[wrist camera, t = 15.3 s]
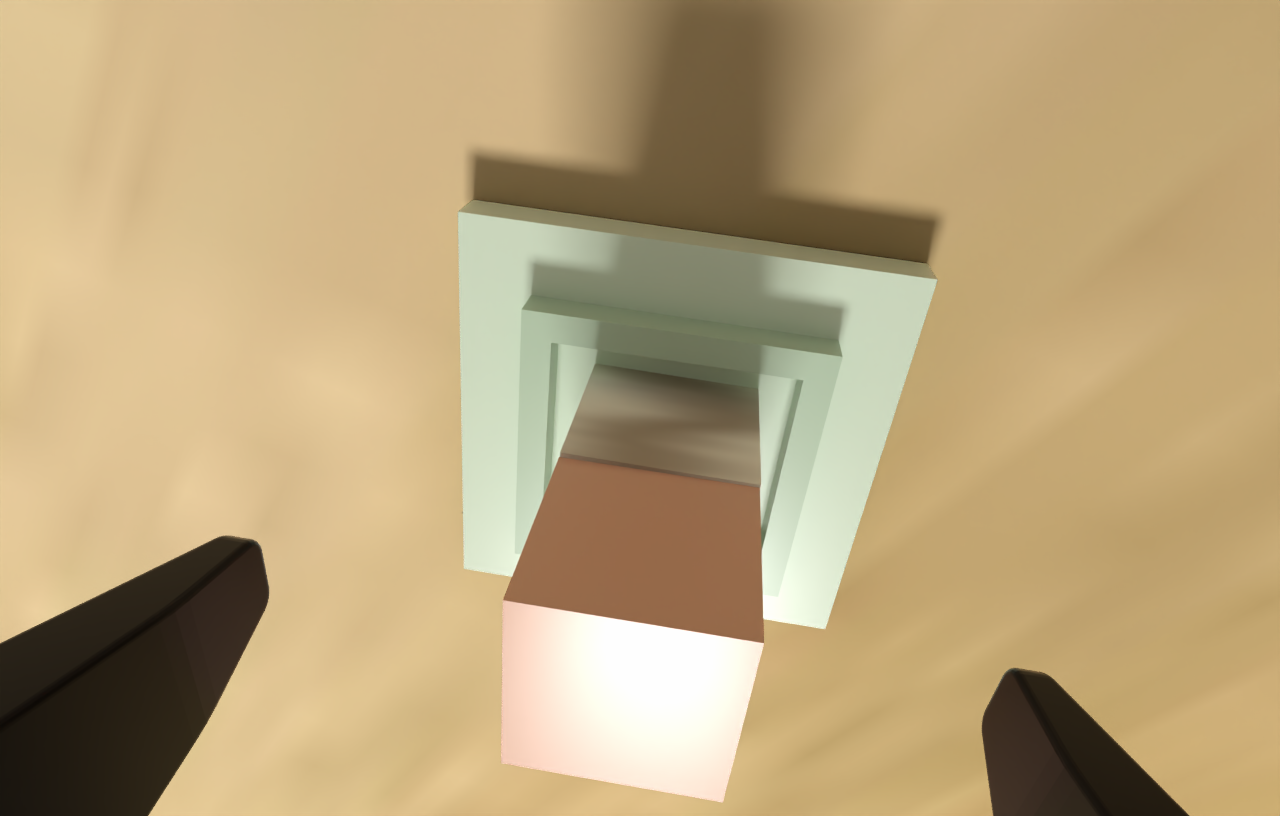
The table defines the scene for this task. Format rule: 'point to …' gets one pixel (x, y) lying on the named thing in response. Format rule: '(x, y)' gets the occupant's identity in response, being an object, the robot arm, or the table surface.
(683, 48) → the table surface
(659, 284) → the baseplate
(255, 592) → the robot arm
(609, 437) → the cream brick
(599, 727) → the salmon pink cube
